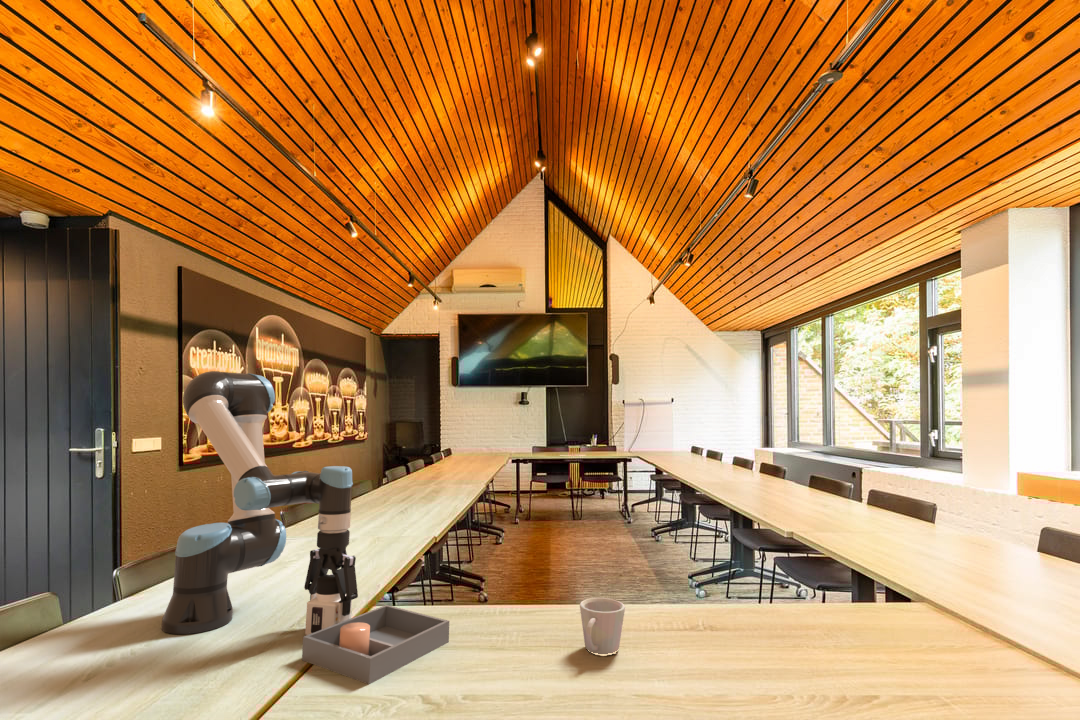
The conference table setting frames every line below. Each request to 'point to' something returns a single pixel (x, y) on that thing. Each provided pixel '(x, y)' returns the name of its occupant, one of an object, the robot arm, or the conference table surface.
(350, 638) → the peach cylinder
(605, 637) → the mug
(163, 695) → the conference table surface
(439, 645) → the tray
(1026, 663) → the conference table surface
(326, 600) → the container
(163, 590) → the conference table surface
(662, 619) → the conference table surface
